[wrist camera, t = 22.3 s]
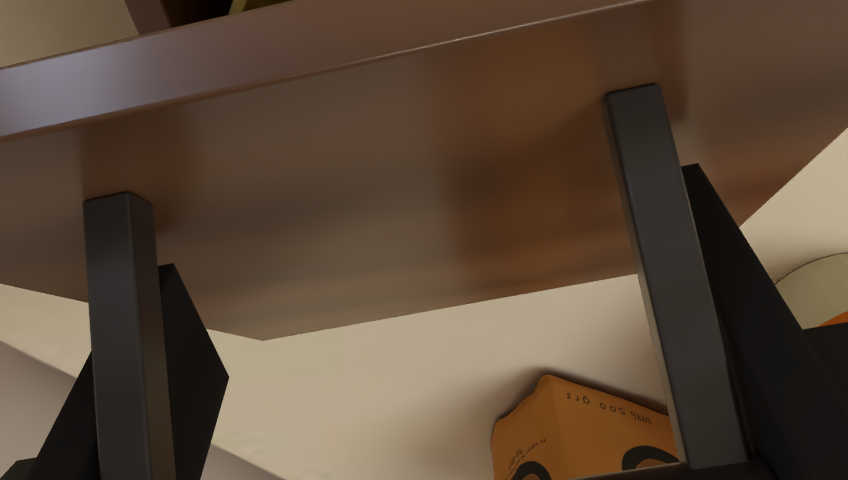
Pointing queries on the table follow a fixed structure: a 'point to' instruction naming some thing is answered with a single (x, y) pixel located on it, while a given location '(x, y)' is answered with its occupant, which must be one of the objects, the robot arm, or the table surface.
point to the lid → (409, 177)
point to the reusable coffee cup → (818, 292)
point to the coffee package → (578, 435)
